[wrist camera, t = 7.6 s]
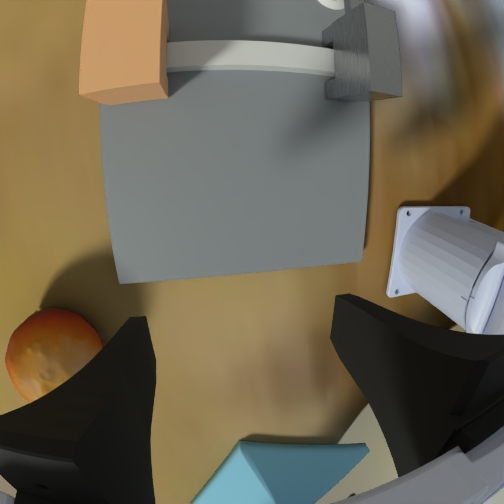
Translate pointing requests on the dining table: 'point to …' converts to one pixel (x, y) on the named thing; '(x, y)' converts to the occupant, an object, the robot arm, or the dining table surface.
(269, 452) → the lamp with square shade
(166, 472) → the dining table surface
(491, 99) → the dining table surface
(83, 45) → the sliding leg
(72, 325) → the fruit
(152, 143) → the board
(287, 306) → the dining table surface
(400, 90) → the fixed leg
